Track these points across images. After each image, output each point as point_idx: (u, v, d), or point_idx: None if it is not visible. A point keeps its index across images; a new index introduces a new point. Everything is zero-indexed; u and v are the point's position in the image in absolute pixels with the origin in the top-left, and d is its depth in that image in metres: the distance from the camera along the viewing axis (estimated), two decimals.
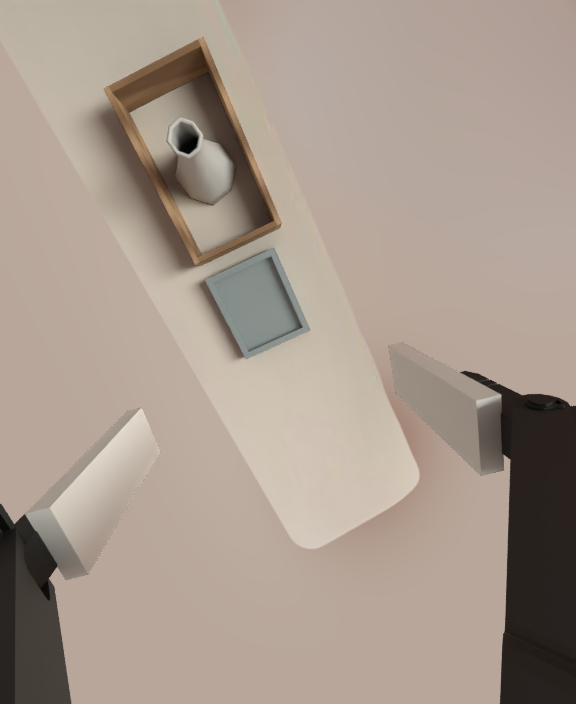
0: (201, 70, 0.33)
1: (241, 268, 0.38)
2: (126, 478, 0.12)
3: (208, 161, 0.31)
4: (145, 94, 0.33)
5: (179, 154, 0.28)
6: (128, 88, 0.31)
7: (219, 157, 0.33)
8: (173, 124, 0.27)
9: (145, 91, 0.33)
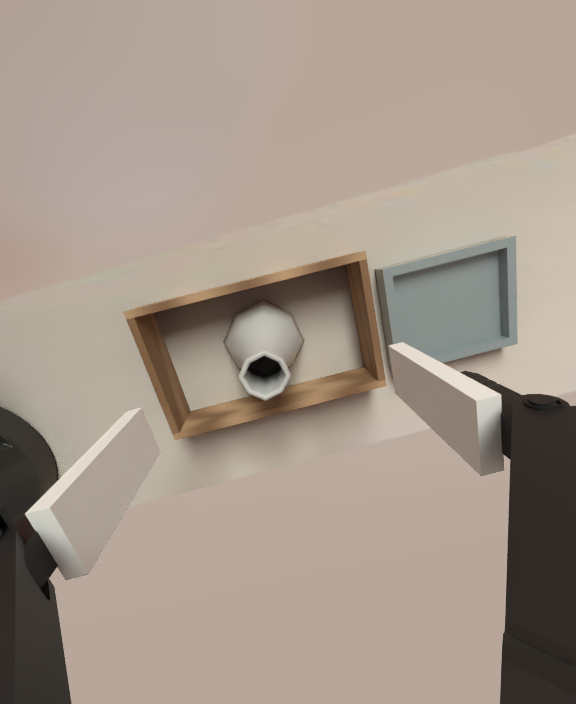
0: (152, 319, 0.26)
1: (397, 322, 0.27)
2: (126, 478, 0.12)
3: (276, 342, 0.22)
4: (176, 392, 0.27)
5: (283, 388, 0.19)
6: (174, 412, 0.26)
7: (265, 323, 0.23)
8: (246, 387, 0.19)
9: (175, 392, 0.27)
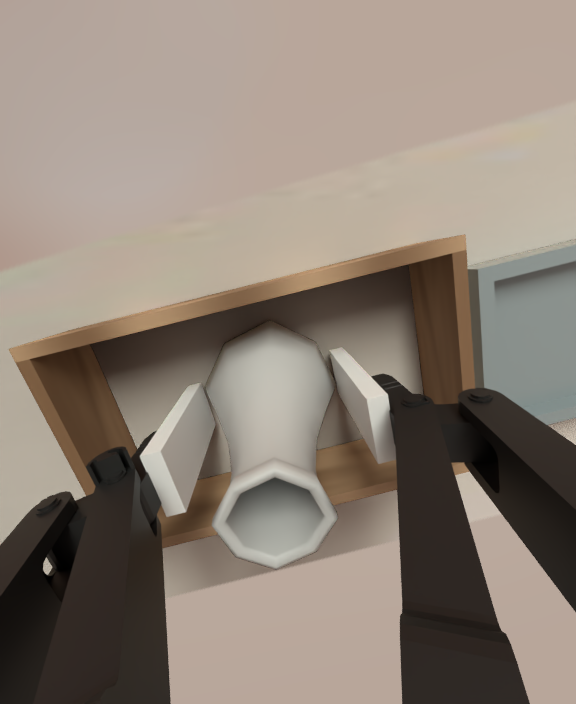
0: (85, 353, 0.16)
1: (494, 358, 0.16)
2: (198, 440, 0.14)
3: (296, 411, 0.11)
4: None
5: (319, 542, 0.08)
6: None
7: (273, 369, 0.13)
8: (232, 544, 0.08)
9: None
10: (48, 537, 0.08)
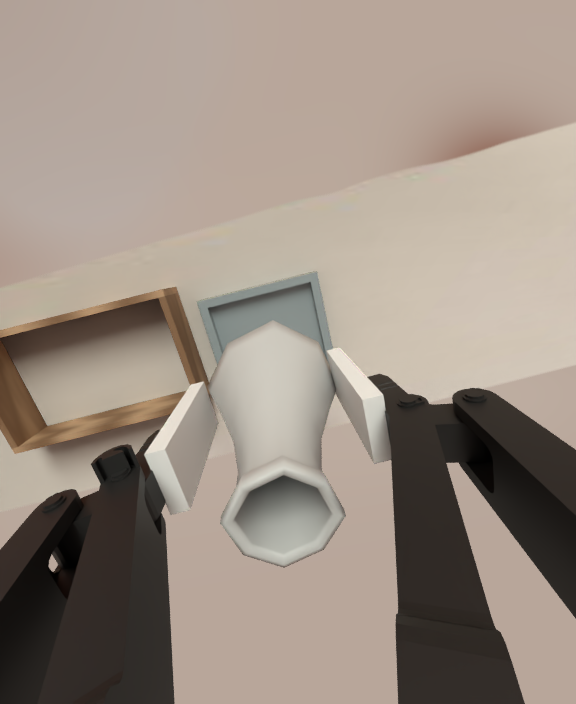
0: None
1: (218, 348, 0.30)
2: (202, 439, 0.14)
3: (301, 410, 0.11)
4: (24, 410, 0.30)
5: (326, 540, 0.08)
6: (13, 429, 0.29)
7: (278, 368, 0.13)
8: (240, 542, 0.08)
9: (21, 410, 0.30)
10: (54, 534, 0.08)
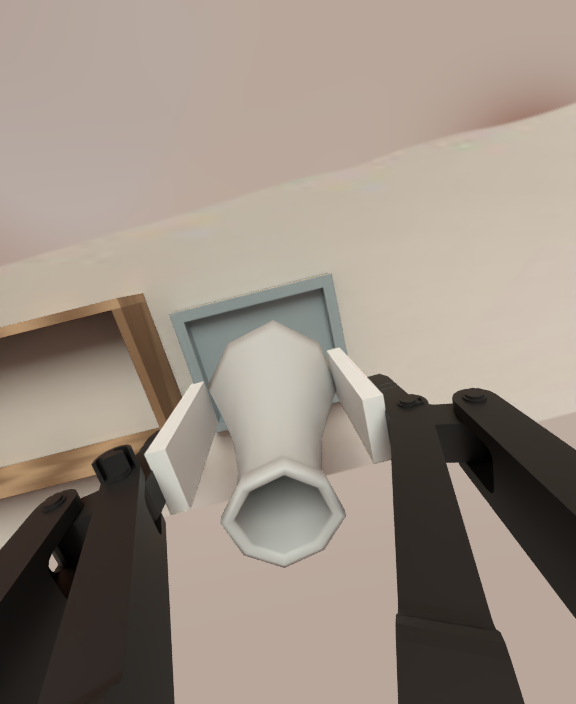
0: None
1: (200, 375, 0.22)
2: (202, 439, 0.14)
3: (301, 410, 0.11)
4: None
5: (326, 540, 0.08)
6: None
7: (278, 368, 0.13)
8: (241, 542, 0.08)
9: None
10: (54, 535, 0.08)
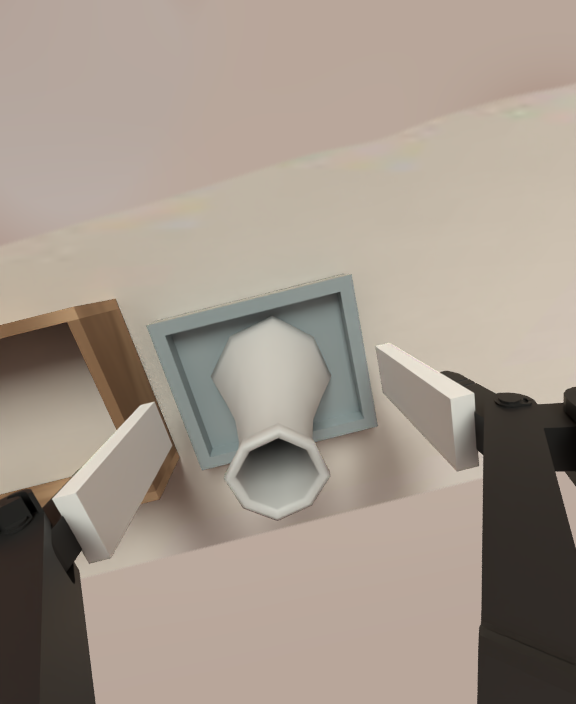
0: None
1: (186, 400, 0.18)
2: (142, 469, 0.13)
3: (295, 392, 0.13)
4: None
5: (314, 497, 0.10)
6: None
7: (276, 357, 0.14)
8: (241, 496, 0.09)
9: None
10: None
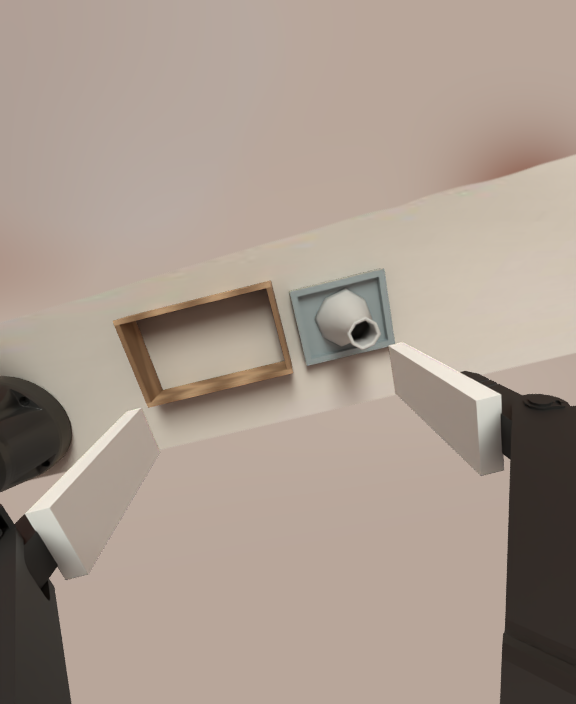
0: (134, 325, 0.38)
1: (303, 329, 0.38)
2: (126, 478, 0.12)
3: (363, 315, 0.32)
4: (151, 375, 0.39)
5: (375, 342, 0.29)
6: (147, 388, 0.38)
7: (352, 303, 0.34)
8: (351, 340, 0.29)
9: (149, 375, 0.39)
10: None
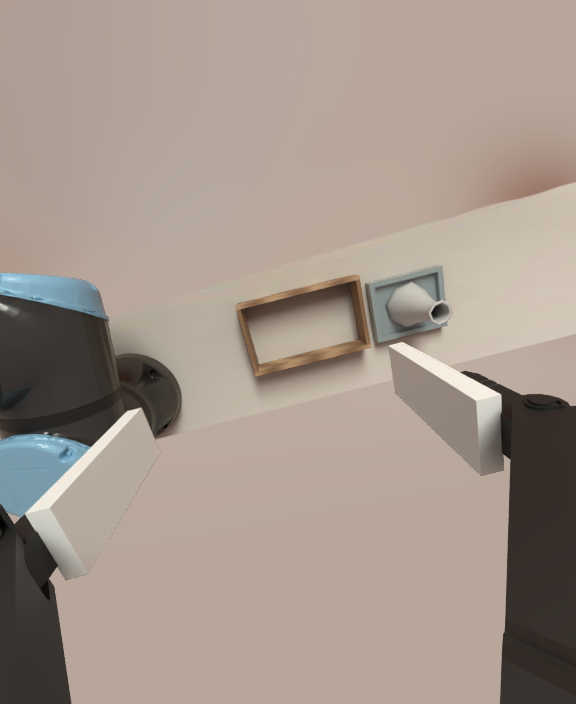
0: (243, 311, 0.48)
1: (377, 313, 0.48)
2: (126, 478, 0.12)
3: (433, 300, 0.43)
4: (254, 351, 0.49)
5: (448, 319, 0.40)
6: (255, 361, 0.47)
7: (422, 292, 0.44)
8: (431, 318, 0.40)
9: (254, 351, 0.48)
10: None
